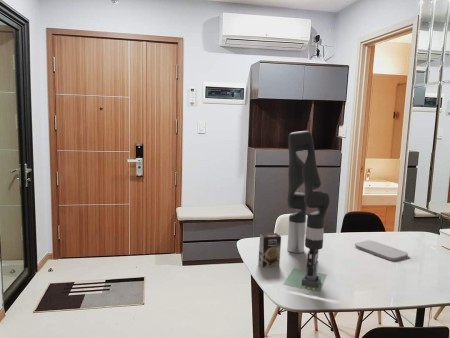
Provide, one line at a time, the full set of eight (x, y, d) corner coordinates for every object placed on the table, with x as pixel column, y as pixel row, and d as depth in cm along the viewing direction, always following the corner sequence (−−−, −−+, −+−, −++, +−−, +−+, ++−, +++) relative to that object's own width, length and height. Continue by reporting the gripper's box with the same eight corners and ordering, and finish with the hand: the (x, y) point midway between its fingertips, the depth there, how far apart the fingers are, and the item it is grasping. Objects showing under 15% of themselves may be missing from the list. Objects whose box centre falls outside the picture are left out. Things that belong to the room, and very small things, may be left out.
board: (293, 270, 176) (293, 263, 176) (326, 276, 170) (327, 269, 169) (282, 286, 158) (283, 278, 157) (320, 294, 152) (320, 286, 151)
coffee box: (262, 269, 176) (264, 237, 173) (257, 264, 182) (259, 233, 180) (279, 268, 178) (281, 236, 176) (274, 263, 184) (276, 232, 182)
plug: (307, 280, 162) (309, 258, 161) (316, 282, 161) (318, 259, 160) (305, 283, 159) (307, 261, 158) (314, 285, 157) (316, 262, 156)
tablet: (369, 243, 222) (370, 239, 221) (410, 257, 200) (410, 253, 200) (352, 247, 213) (352, 243, 213) (392, 262, 191) (393, 258, 191)
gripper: (308, 231, 165) (306, 265, 167) (302, 239, 152) (300, 276, 154) (325, 233, 162) (323, 268, 164) (320, 242, 149) (317, 280, 151)
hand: (311, 272), depth 159 cm, fingers open, 8 cm apart
